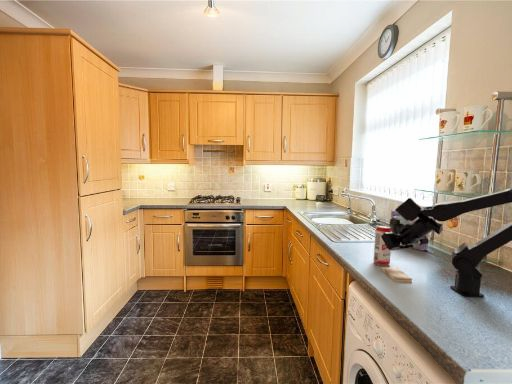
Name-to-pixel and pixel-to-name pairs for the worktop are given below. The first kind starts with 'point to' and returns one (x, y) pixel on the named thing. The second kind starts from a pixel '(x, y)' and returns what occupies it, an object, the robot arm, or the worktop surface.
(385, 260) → the beer can
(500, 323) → the worktop surface
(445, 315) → the worktop surface
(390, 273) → the chopping board
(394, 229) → the cake pan box
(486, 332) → the worktop surface
